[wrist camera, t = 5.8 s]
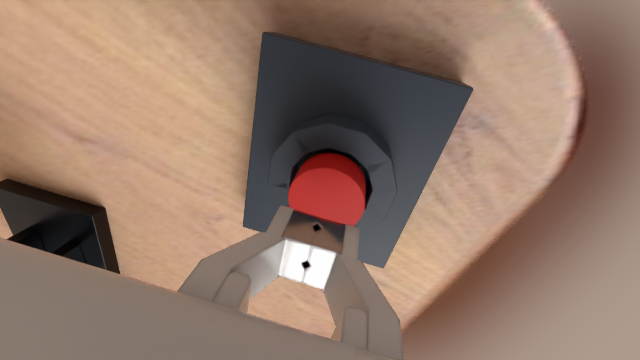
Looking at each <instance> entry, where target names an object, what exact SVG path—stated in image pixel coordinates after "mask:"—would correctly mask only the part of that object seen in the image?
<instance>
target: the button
mask: <svg viewBox="0 0 640 360" xmlns="http://www.w3.org/2000/svg"><path fill="white" fill-rule="evenodd" d="M365 192H366V182H365V178H364V175H363V173H362V171H361V169H360V168H359V166H358V165H357V164H356V163H355V162H353V161H352V160H351V159H349V158H347V157H345V156H343V155H340V154H336V153H321V154H317V155H315V156H312V157H311V158H309V159H308V160H306V161H305V162H304V163H303V164H302V166H301V167H300V169H299V171H298V173H297V174H296V176H295V178H294V180H293V182H292V183H291V186H290V188H289V192H288V201H289V206H290V208H293V209H296V210H299V211H303V212H306V213H309V214H312V215H315V216H319V217H321V218H325V219H328V220H332V221H335V222H339V223H343V224H348V225H352V226H354V225H355V224H356V223H357V222H358V221H359V220H360V218H361V217H362V214H363V212H364V208H365Z"/></svg>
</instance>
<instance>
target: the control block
mask: <svg viewBox="0 0 640 360" xmlns="http://www.w3.org/2000/svg"><path fill="white" fill-rule="evenodd" d="M472 91H473V88H472V87H470V86H468V85H466V84H464V83H462V82H459V81H455V80H451V79H447V78H444V77H440V76H436V75H432V74H429V73H425V72H421V71H417V70H413V69H410V68H406V67H402V66H398V65H395V64H391V63H387V62H383V61H380V60H376V59H372V58H368V57H365V56H361V55H357V54H353V53H349V52H346V51H342V50H338V49H334V48H331V47H327V46H323V45H319V44H316V43H312V42H308V41H304V40H301V39H297V38H293V37H289V36H285V35H282V34H278V33H271V32H263V34H262V43H261V53H260V63H259V73H258V83H257V92H256V102H255V112H254V122H253V132H252V141H251V151H250V161H249V171H248V181H247V191H246V200H245V210H244V220H243V227H246V228H249V229H252V230H256V231H259V232H265V233H266V231H267V229H268V227H269V226H270V224H271V222H272V220H273V218H274V216H275V214H276V212H277V211H278V209H279V207H280V206H281V205H283V206H286V207H289V208H290V206H289V201H288V192H289V188H290V186H291V183H292V182H293V180H294V178H295V176H296V174H297V173H298V171H299V169H300V167H301V166H302V164H303V163H304V162H305V161H306V160H308V159H309V158H311V157H312V156H315V155H317V154H321V153H336V154H340V155H343V156H345V157H347V158H349V159H351V160H352V161H353V162H355V163H356V164H357V165H358V166H359V168H360V169H361V171H362V173H363V175H364V178H365V182H366V192H365V208H364V212H363V214H362V217H361V218H360V220H359V221H358V222H357V223H356V224H355V225H354V226H355V227H358V228H359V243H358V260H360V261H362V262H363V263H367V264H370V265H373V266H377V267H380V268H384V266H385V264H386V262H387V260H388V258H389V256H390V254H391V252H392V250H393V248H394V247H395V245H396V243H397V241H398V239H399V237H400V235H401V233H402V231H403V229H404V227H405V225H406V223H407V221H408V219H409V217H410V215H411V213H412V211H413V209H414V207H415V205H416V203H417V201H418V199H419V197H420V195H421V193H422V191H423V189H424V187H425V185H426V183H427V181H428V179H429V177H430V175H431V173H432V171H433V169H434V167H435V165H436V163H437V161H438V159H439V157H440V155H441V153H442V151H443V149H444V147H445V145H446V143H447V141H448V139H449V137H450V135H451V133H452V131H453V129H454V127H455V125H456V123H457V121H458V119H459V117H460V115H461V113H462V111H463V109H464V107H465V105H466V103H467V101H468V99H469V97H470V95H471V93H472Z"/></svg>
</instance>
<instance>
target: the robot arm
mask: <svg viewBox="0 0 640 360" xmlns="http://www.w3.org/2000/svg"><path fill="white" fill-rule="evenodd" d="M358 243H359V228H358V227H355V226H352V225H348V224H343V223H339V222H335V221H332V220H328V219H325V218H321V217H319V216H315V215H312V214H309V213H306V212H303V211H299V210H296V209H293V208H289V207H286V206H283V205H281V206H280V207H279V209H278V211H277V212H276V214H275V216H274V218H273V220H272V222H271V224H270V226H269V227H268V229H267V231H266V233H265V232H260V233H258V234H255V235H253V236H251V237H249V238H247V239H245V240H243V241H240V242H238V243H236V244H234V245H232V246H230V247H228V248H226V249H223V250H221V251H219V252H217V253H215V254H213V255H211V256H208V257H206V258H204V259H202V260H201V261H200V262H199V263H198V265H197V266H196V267H195V269H194V270H193V271H192V273H191V274H190V275H189V277H188V278H187V279H186V281H185V282H184V283H183V285H182V286H181V287H180V289H179V290H178V291H177V292H176V291H173V290H170V289H166V288H163V287H160V286H156V285H153V284H150V283H147V282H143V281H140V280H137V279H134V278H130V277H127V276H124V275H121V274H117V273H114V272H111V271H108V270H104V269H101V268H98V267H95V266H91V265H88V264H85V263H82V262H78V261H75V260H72V259H68V258H65V257H62V256H59V255H55V254H52V253H49V252H46V251H42V250H39V249H36V248H33V247H29V246H26V245H23V244H20V243H16V242H13V241H10V240H6V239H3V238H0V360H404V359H403V348H402V338H401V327H400V320H399V318H398V317H397V315H396V313H395V312H394V310H393V309H392V307H391V306H390V304H389V303H388V301H387V300H386V298H385V296H384V295H383V293H382V292H381V290H380V289H379V287H378V286H377V284H376V283H375V281H374V279H373V278H372V276H371V275H370V273H369V272H368V270H367V269H366V267H365V265H364V264H363V262H362V261H360V260H358ZM278 276H279V277H283V278H286V279H290V280H294V281H298V282H301V283H304V284H307V285H310V286H313V287H316V288H319V289H322V290H324V294H325V297H326V299H327V302H328V305H329V308H330V311H331V313H332V316H333V319H334V322H335V325H336V328H335V330H334V333H333V335H332V337H331V339H329V338H326V337H322V336H319V335H316V334H313V333H309V332H306V331H303V330H300V329H296V328H293V327H290V326H287V325H283V324H280V323H277V322H274V321H270V320H267V319H264V318H261V317H257V316H254V315H251V314H248V313H247V309H248V302H249V300H250V299H251V298H252V297H253V296H255V295H256V294H257V293H258V292H260V291H261V290H262V289H264V288H265V287H266V286H267V285H269V284H270V283H271V282H272V281H274V280H275V279H276V278H277V277H278Z"/></svg>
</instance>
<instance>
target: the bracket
mask: <svg viewBox="0 0 640 360" xmlns="http://www.w3.org/2000/svg"><path fill="white" fill-rule="evenodd" d="M0 208H1V210H2V212H3V215H4V217H5V219H6V221H7V223H8V225H9V227H10V229H11V231H12V233H13V236H12V237H10V238H8V239H6V240H10V241H13V242H16V243H20V244H23V245H26V246H29V247H33V248H36V249H39V250H42V251H46V252H49V253H52V254H55V255H59V256H62V257H65V258H68V259H72V260H75V261H78V262H82V263H85V264H88V265H91V266H95V267H98V268H101V269H104V270H108V271H111V272H114V273H117V274H120V272H119V268H118V263H117V259H116V255H115V250H114V246H113V242H112V237H111V233H110V229H109V224H108V220H107V215H106V211H105V208H102V207H98V206H95V205H92V204H88V203H85V202H82V201H78V200H75V199H72V198H68V197H65V196H62V195H58V194H55V193H52V192H49V191H45V190H42V189H39V188H35V187H32V186H29V185H25V184H22V183H19V182H15V181H12V180H9V179H5V180H3V181H0Z"/></svg>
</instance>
